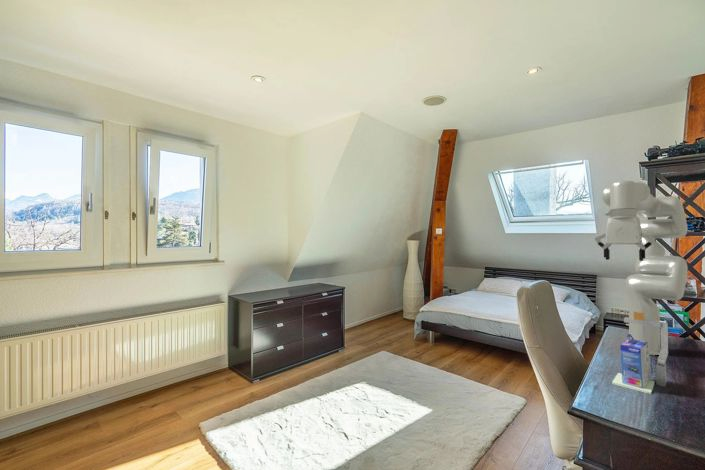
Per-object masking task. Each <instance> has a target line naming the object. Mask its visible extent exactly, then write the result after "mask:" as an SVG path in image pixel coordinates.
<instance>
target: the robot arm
mask: <svg viewBox="0 0 705 470" xmlns="http://www.w3.org/2000/svg"><path fill="white" fill-rule="evenodd" d="M601 199H602V201H603V203H604V204H605V205H607V206H608V207H610V208H609V209H610V210H609V211H606V212H605V216H606V217H607V216H608V217H610V218H607V221H606V227H605V232H604V233H603V234H601V235H599V236H596V237H595V238H594V240H595V242H596V243H597V245H598V246H599V247H600V248H602V250H603V258H605V260H606V261H609V260H610V259H611V257H610V251H611V250H610V249H609V248H610V247H611V246H612V245H636V246H637V247H638V254H637V257H636V259H635V260H636V261H635V264H634V269H635V270H634V271H635V273H634V274H631V275H628V276H627V277H626V279H625V289H626V292H627V293H626V294H627V299H628V318H634V314H633V312H642V313H644V315H645V320H650V321H657V322H661V319H660V316H661V314H660V313H661V311H660V308H659V306H658V305H657V304H656V303H655V302H654V300H653V299H656V300H664V301H665V300H666V301H679V300H681V299H682V298H683V297H684V294H685V289H686V283H687V277H688V269H689V268H688V263H687V261H686V259H684V258H683V257H681V256H677V255H666V248H665V247H664V246H662V244H661V243H659V242H658V241H656V239H681V238H683V237H686V235H687V233H688V223H687V218H686V213H685V210H684V209H685V208H684V206H683V202H682V201H681V199H680V198H679V197H678V196H674V195H672V196H671V195H670V196H658V197H655V196H654V195H653V194H651V188H650V187H649V185H648V184H646V183H645V182H641V181H638V182H636V181H633V180H621V181H615V182H612V183H611V184H609V185H607V186H605V187H604V188H603V189H602V190H601ZM638 216H640V217H642V218H655V219H644V220H640V217H638ZM665 217H671V218H665ZM656 218H657V219H656ZM658 218H660V219H658ZM602 239H605V242H606V243H603V242H602ZM628 334H631V336H632V337H633V339H634V340H639V341H644V342H648V346H649V356H655V355H659V354H660V351H661V327H654V326H647V325H640V324H633V323H628ZM630 339H632V338H631V337H630Z"/></svg>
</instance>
